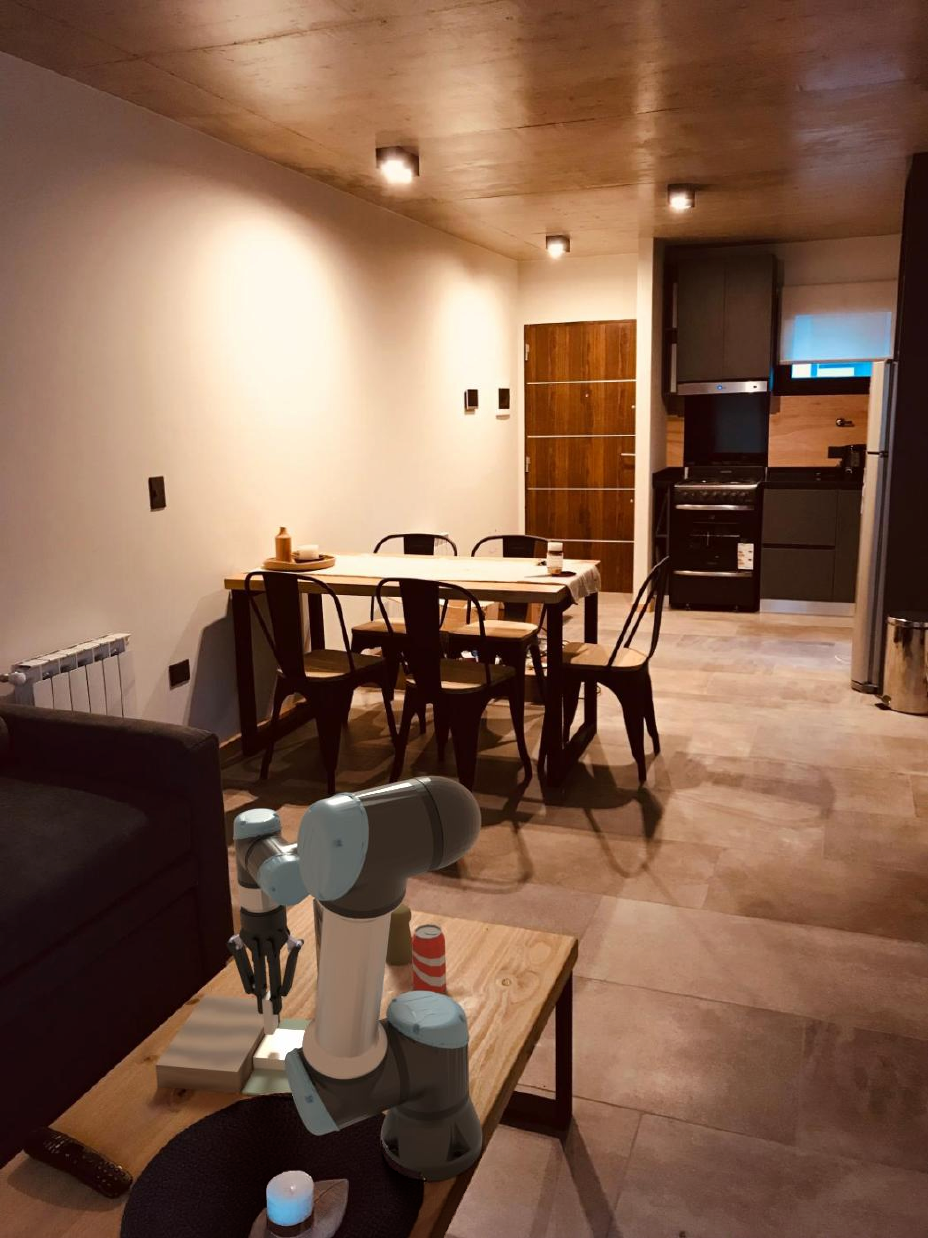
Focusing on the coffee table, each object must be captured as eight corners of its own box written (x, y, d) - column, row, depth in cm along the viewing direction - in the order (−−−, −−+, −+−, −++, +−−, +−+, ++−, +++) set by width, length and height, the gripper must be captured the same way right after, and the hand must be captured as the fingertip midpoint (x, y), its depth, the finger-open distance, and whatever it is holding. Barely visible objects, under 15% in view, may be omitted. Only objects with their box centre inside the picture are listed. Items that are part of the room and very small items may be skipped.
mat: (331, 1102, 162) (331, 1100, 162) (242, 1094, 165) (241, 1092, 165) (363, 1026, 182) (363, 1024, 181) (282, 1020, 184) (282, 1018, 184)
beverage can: (442, 999, 189) (441, 941, 186) (409, 996, 190) (407, 938, 188) (449, 981, 195) (448, 924, 192) (417, 978, 196) (415, 921, 194)
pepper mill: (386, 949, 207) (384, 899, 204) (416, 949, 206) (414, 899, 204) (383, 966, 201) (380, 915, 198) (413, 966, 200) (411, 915, 198)
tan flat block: (239, 1094, 165) (237, 1072, 164) (157, 1086, 167) (155, 1065, 166) (280, 1020, 184) (278, 1000, 183) (206, 1014, 186) (204, 994, 185)
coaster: (299, 1071, 169) (299, 1061, 169) (253, 1067, 170) (252, 1057, 170) (314, 1042, 177) (313, 1031, 176) (269, 1038, 178) (269, 1028, 178)
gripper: (307, 893, 170) (315, 1019, 175) (233, 889, 172) (242, 1014, 177) (293, 915, 163) (301, 1046, 168) (215, 911, 165) (226, 1040, 170)
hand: (271, 1029), depth 173 cm, fingers closed
